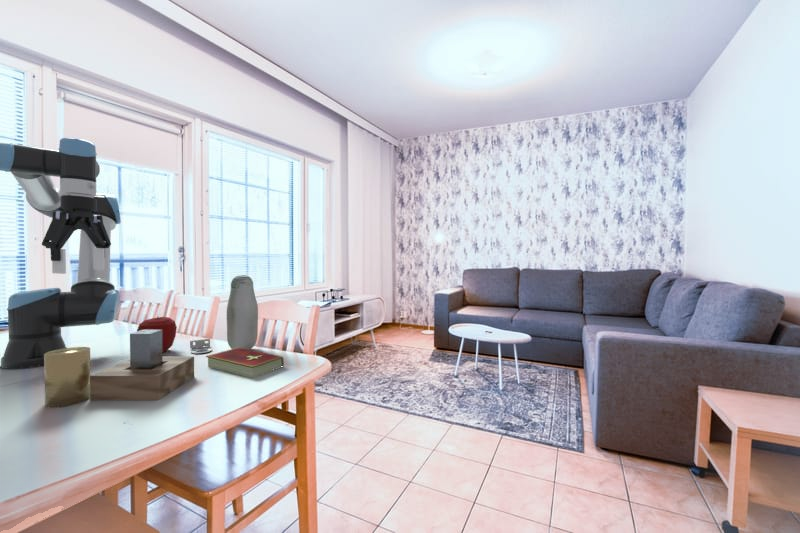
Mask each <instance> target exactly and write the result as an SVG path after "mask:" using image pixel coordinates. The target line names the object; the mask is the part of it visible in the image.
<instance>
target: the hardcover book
mask: <svg viewBox="0 0 800 533" xmlns="http://www.w3.org/2000/svg"><path fill="white" fill-rule="evenodd" d="M205 358H207V367H208V368H212V369H215V370H220V371H223V372H228V373H231V372H232V373H231V374H235V373H236V374H235V375H239V376H242V375H243V376H244V377H246V376H247V378H250V377H251V378H252V379H253V378H256V376H257V377H259V376H262V375H264V374H263V373H265V374H267V373H266V372H268V373H270V372H272V371H271V370H273V369H276V368H278V367H281V366H283V367H284V363H285V361H284V360H285V359H284V357H283V356H282V355H278V354H277V355H276V354H272V353H266V352H262V351H257V350H252V349H250V350H248V349H243V348H234V349H231V348H230V349H228V350H224V351H220V352H216V353H212V354H208V355H206V356H205ZM281 368H282V367H281ZM278 369H279V368H278ZM276 370H277V369H276ZM269 371H270V372H269ZM273 371H274V370H273ZM261 374H262V375H261ZM258 375H259V376H258Z"/></svg>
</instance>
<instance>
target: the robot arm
mask: <svg viewBox="0 0 800 533" xmlns="http://www.w3.org/2000/svg"><path fill="white" fill-rule="evenodd" d="M97 155H98V154H97V150H96V145H95V144H94V143H93V142H91V141H88V140H85V139H81V138H75V137H62V138H60V139H59V147H58V150H56V149H49V148H41V147H35V146H34V147H33V146H27V145H23V144H22V145H21V144H14V143H7V142H6V143H5V142H0V171H2V172H5V173H10V174H12V175H13V178H14V179H15V180H16V181H17V183H18V184H19V186H20V187H21V188H22V190H23V192H24V193H25V199H26V201H27V203H28V204H29V206H30V207H32V208H33V209H34V210H35V211H37V212H38V213H41V214H42V215H44V216H47V217H48V218H51V222H50V224H49V226H48V228H47V230H46V232H45V235H44V237H43V240H42V242H41V246H43V247H45V248H46V249H49V250H50V261H51V265H52V266H51V267H52V268H51V271H52V274H61V275H62V274H67V264H66V262H67V259H66V257H67V256H66V249H65V248H64V246H65V244H66V243H67V242H68V240H69V239H70V238H71V236H72V235H73V233H74V232H75V231H78V230H80V237H79V249H78V250H79V251H78V266H77V268H78V269H77V282H75V283H74V284H72V285H71V287H70V291H62V289H61V288H60V287H52V288H51V287H50V288H49V287H48V288H42V289H41V288H40V289H34V290H28V291H27V290H26V291H19V292H16V293H14V294H11V295H10V296H9V297H8V302H7V309H6V310H7V322H8V324H7V325H8V342H7V345H6V346H5V347H6V348H5V350H4V352H3V356H2V357H0V358H1V359H0V368H2V369H7V370H10V369H11V370H16V369H19V370H20V369H29V368H36V367H42V366H43V367H44V354H45V353H47V352H50V351H53V350H58V349H64V348H67V346H66V344H65V341H64V338H63V336H62V328H68V327H81V326H82V327H83V326H94V325H95V326H99V325H103V324H105V325H106V324H110V323H113V322H114V321H115V320H116V317H117V315H118V311H119V305H120V294H121V292H120V290H118V289H116V288H115V285H114V283H111V282H110V279H111V278H110V276H111V275H110V272H111V267H110V265H111V246H112V243H111V240H112V239H111V238H112V237H111V233H112V232H111V231H113V230H115V229H116V227H117V225H120V224H121V215H120V214H121V212H120V206H119V201H118V198H117V197H116V195H114V194H110V193H109V194H108V193H104V192H100V193H98V192H97V178H98V176H99V175H100V169H101V168H100V164H99V162H98V161H97ZM51 177H57V178H59V188H58V187H57V186H56V185H55V184H54V181H53V179H52V178H51Z"/></svg>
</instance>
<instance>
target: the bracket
mask: <svg viewBox="0 0 800 533" xmlns="http://www.w3.org/2000/svg"><path fill="white" fill-rule="evenodd" d="M194 343H195V344H194ZM203 346H210V347H211V339H210V338H204V339H196V340H190V341H189V349H190V348H196V349H195V350H196V351H191V350H190V353H191V354H194V355H196V354H205V353H209V352H210V351H211V352H212V351H213V349H212V350H208V349H207V348H199V349H200V350H198V348H197V347H203Z"/></svg>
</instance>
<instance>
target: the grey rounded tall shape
mask: <svg viewBox="0 0 800 533" xmlns="http://www.w3.org/2000/svg"><path fill="white" fill-rule="evenodd" d="M254 289H255V288H254V281H253V279H252V278H251V277H250V276H249V275H244V274H242V275H241V274H239V275H236V276H234V277H233V278H232V279H231V283H230V293H229V297H228V302H227V306H226V338H227V340H226V341H227V344H228V346H229V347H230V350H231V349H234V348H243V349H248V350H252V349H253V348H254V347H255V345H256V343H257V341H258V333H259V331H258V330H259V329H258V324H259V323H258V321H259V305H258V301H257V297H256V294H255V290H254Z"/></svg>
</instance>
